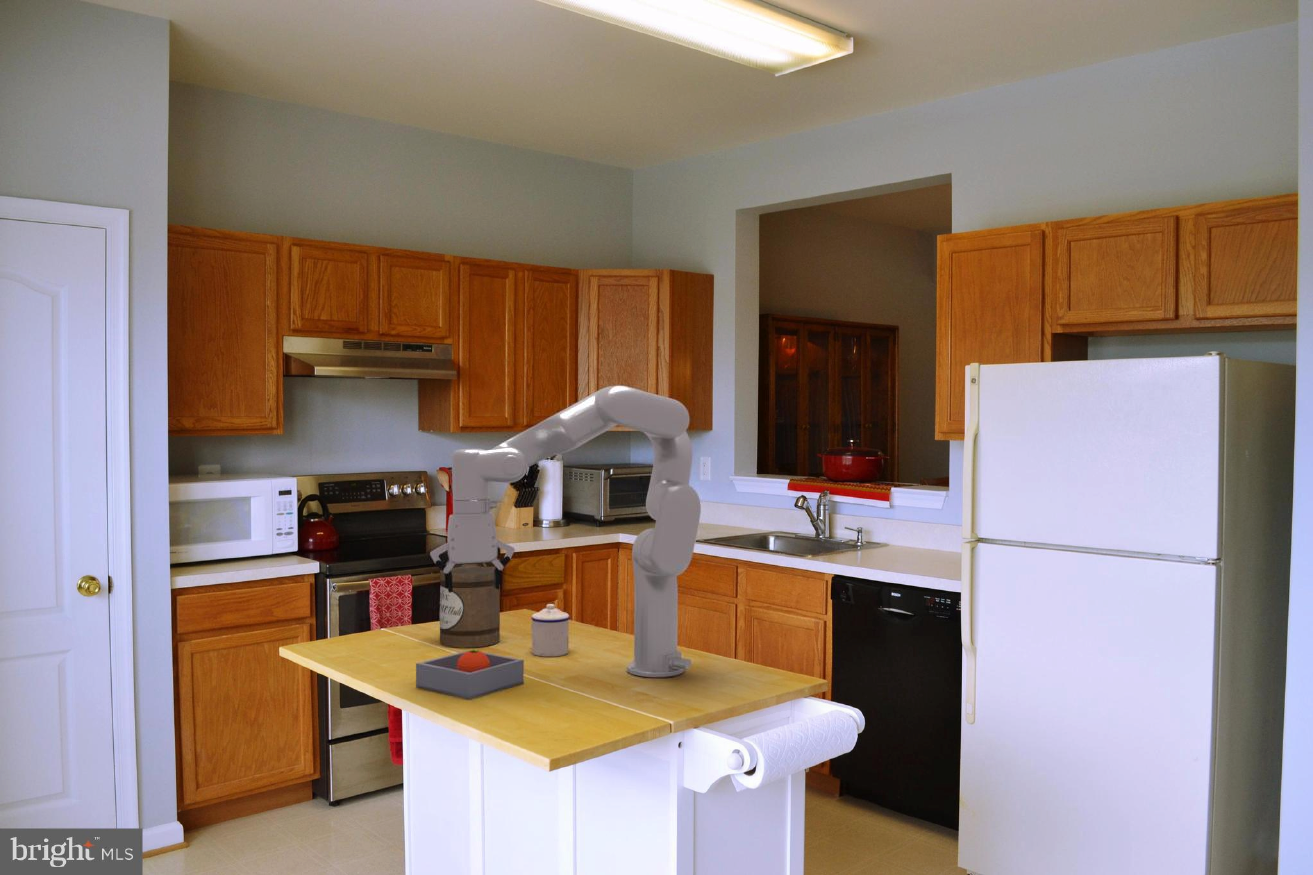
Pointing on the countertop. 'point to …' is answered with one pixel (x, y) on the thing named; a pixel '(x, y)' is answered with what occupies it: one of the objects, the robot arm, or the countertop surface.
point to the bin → (469, 676)
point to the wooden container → (469, 608)
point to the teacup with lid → (550, 632)
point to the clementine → (473, 661)
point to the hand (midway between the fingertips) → (473, 589)
